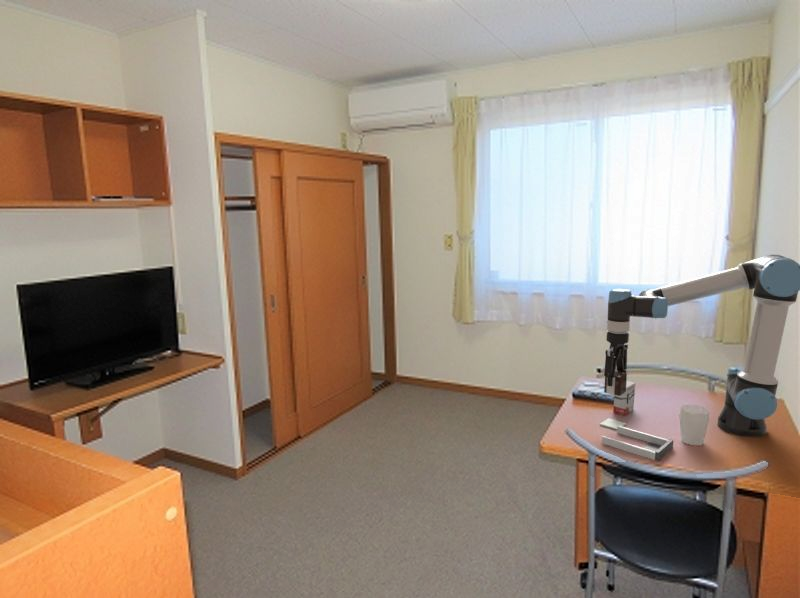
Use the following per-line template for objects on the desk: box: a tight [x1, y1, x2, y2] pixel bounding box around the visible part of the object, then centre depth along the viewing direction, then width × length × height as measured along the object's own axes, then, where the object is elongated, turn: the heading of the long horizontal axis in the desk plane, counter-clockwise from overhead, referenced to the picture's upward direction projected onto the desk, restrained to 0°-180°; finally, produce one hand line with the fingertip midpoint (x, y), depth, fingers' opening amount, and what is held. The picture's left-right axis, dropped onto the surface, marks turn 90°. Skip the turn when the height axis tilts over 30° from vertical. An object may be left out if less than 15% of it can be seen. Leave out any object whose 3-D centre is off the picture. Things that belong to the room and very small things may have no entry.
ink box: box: [612, 380, 636, 416], centre depth 213 cm, size 8×5×12 cm, turn 134°
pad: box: [599, 417, 627, 431], centre depth 201 cm, size 7×7×1 cm
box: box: [603, 370, 628, 396], centre depth 198 cm, size 6×6×7 cm
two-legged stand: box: [601, 425, 674, 461], centre depth 183 cm, size 19×13×3 cm
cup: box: [678, 404, 710, 446], centre depth 184 cm, size 9×9×12 cm
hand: (614, 391), depth 198 cm, fingers closed on box, 6 cm apart
